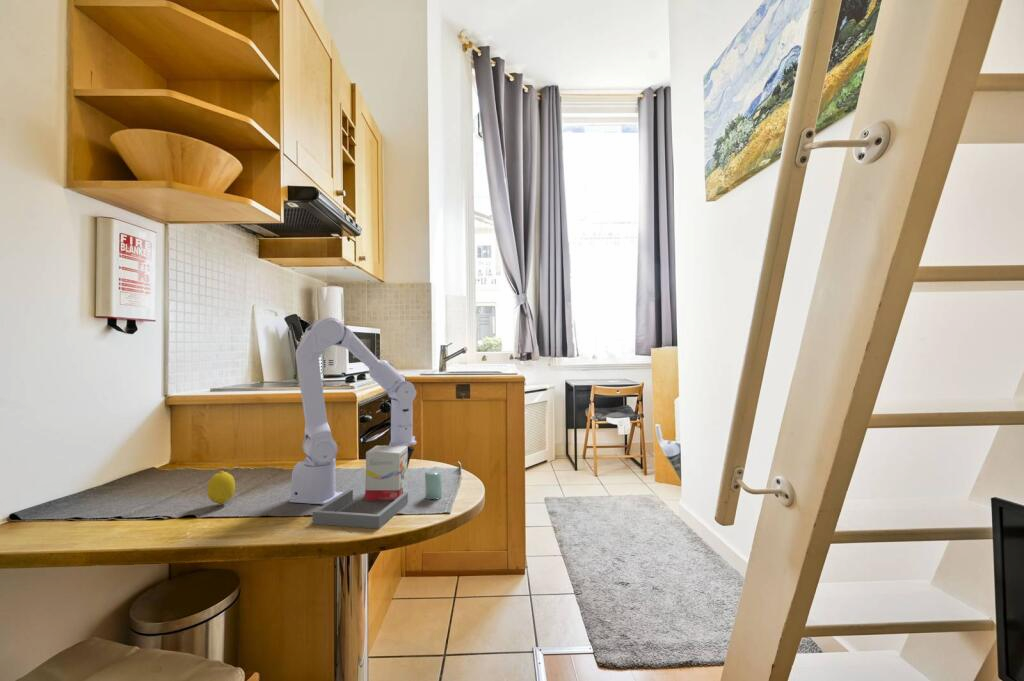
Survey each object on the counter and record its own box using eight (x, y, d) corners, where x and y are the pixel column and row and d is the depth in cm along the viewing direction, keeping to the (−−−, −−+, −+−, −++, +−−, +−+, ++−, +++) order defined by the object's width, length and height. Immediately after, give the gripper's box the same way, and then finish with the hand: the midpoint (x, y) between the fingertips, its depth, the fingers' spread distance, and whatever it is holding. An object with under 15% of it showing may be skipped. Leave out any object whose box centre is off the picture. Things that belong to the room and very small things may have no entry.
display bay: (312, 523, 97) (312, 511, 97) (348, 499, 112) (349, 489, 112) (379, 528, 95) (379, 516, 95) (407, 503, 109) (407, 493, 109)
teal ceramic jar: (422, 499, 112) (422, 474, 112) (428, 494, 116) (428, 470, 116) (438, 500, 112) (438, 475, 112) (443, 494, 116) (443, 471, 116)
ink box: (399, 501, 111) (399, 452, 111) (364, 500, 111) (364, 451, 111) (408, 490, 120) (408, 444, 120) (375, 489, 120) (375, 444, 120)
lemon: (235, 506, 107) (236, 471, 107) (207, 511, 104) (207, 475, 104) (234, 499, 112) (234, 466, 112) (207, 503, 109) (207, 470, 109)
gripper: (405, 430, 117) (405, 483, 117) (425, 420, 131) (425, 468, 131) (379, 429, 118) (378, 482, 118) (401, 420, 132) (401, 467, 132)
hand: (401, 475), depth 125 cm, fingers closed
